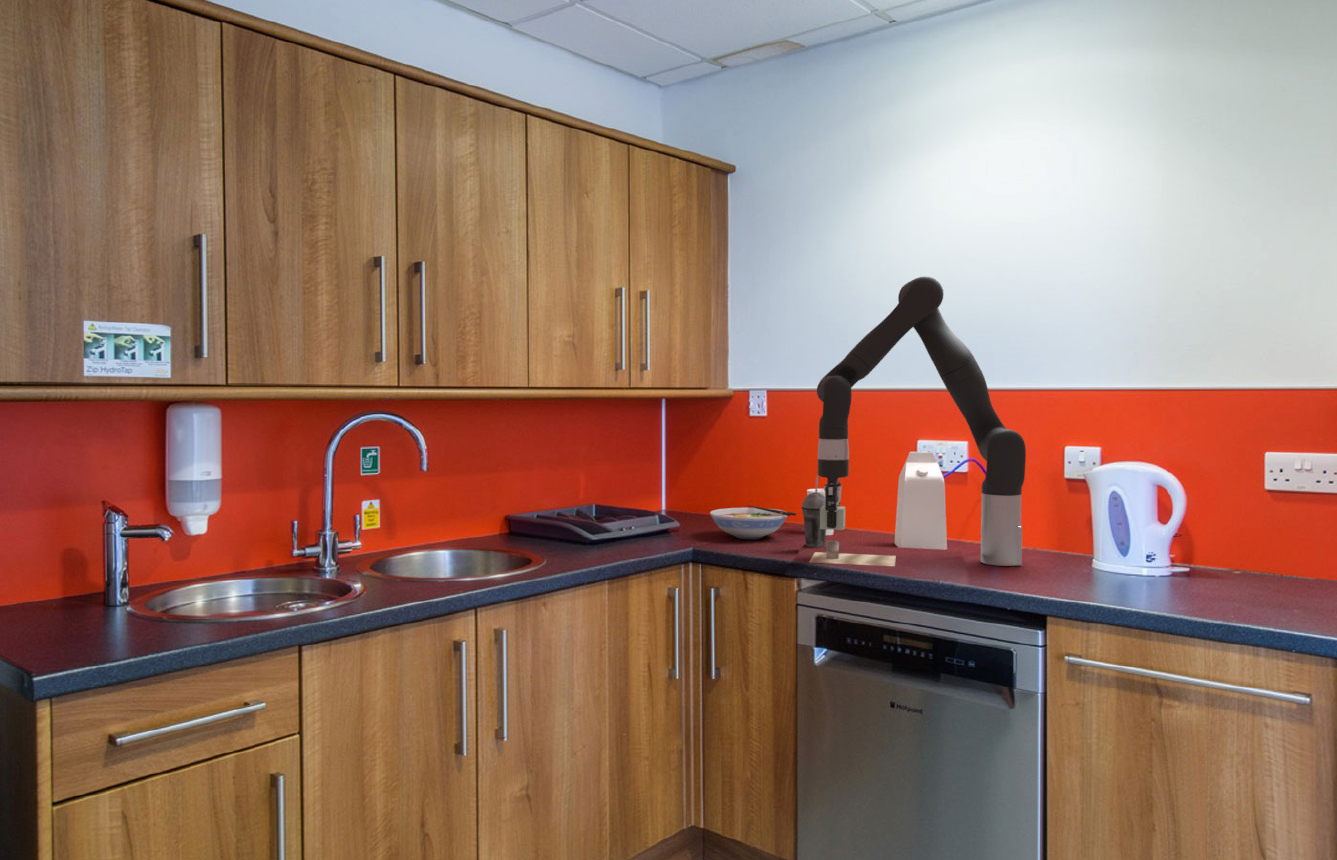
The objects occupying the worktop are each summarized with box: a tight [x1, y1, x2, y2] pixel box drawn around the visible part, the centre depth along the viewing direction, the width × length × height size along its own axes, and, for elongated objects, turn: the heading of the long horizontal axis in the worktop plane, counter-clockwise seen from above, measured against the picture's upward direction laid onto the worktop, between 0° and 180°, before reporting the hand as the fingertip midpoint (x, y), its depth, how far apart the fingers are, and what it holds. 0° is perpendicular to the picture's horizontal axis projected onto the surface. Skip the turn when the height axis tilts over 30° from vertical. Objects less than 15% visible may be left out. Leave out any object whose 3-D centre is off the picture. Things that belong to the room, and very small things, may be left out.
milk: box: [894, 451, 948, 550], centre depth 247 cm, size 12×12×26 cm
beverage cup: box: [801, 475, 827, 548], centre depth 241 cm, size 7×7×20 cm
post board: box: [808, 540, 897, 567], centre depth 222 cm, size 20×14×6 cm
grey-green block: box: [820, 505, 846, 531], centre depth 223 cm, size 6×6×5 cm
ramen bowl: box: [709, 504, 797, 540], centre depth 264 cm, size 25×23×8 cm
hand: (832, 525), depth 223 cm, fingers closed on grey-green block, 5 cm apart
